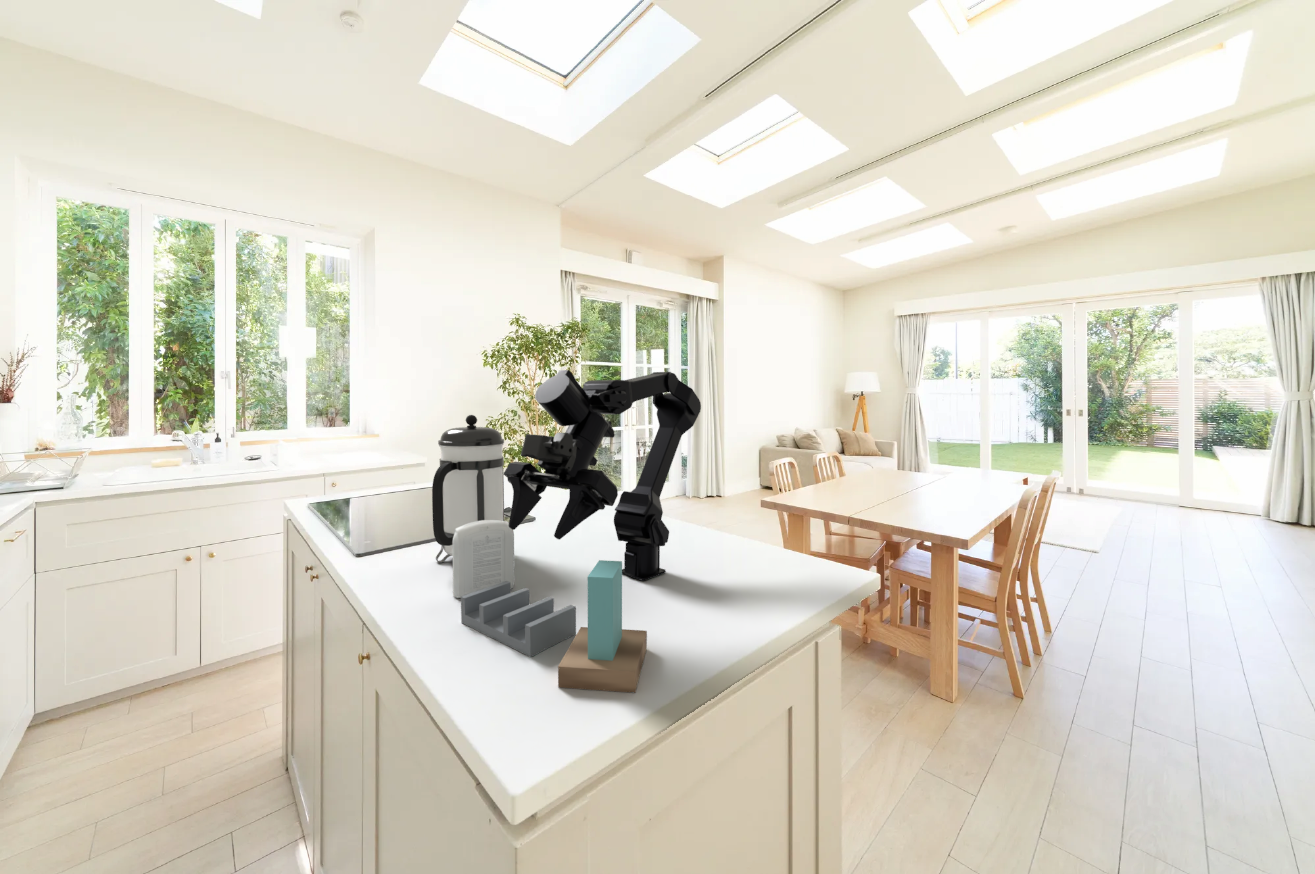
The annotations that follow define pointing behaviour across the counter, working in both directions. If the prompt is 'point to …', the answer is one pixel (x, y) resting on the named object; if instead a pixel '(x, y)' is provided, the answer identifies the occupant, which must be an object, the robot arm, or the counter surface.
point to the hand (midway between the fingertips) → (533, 533)
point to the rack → (517, 618)
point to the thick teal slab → (604, 610)
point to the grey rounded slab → (482, 556)
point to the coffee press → (467, 481)
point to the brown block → (604, 664)
